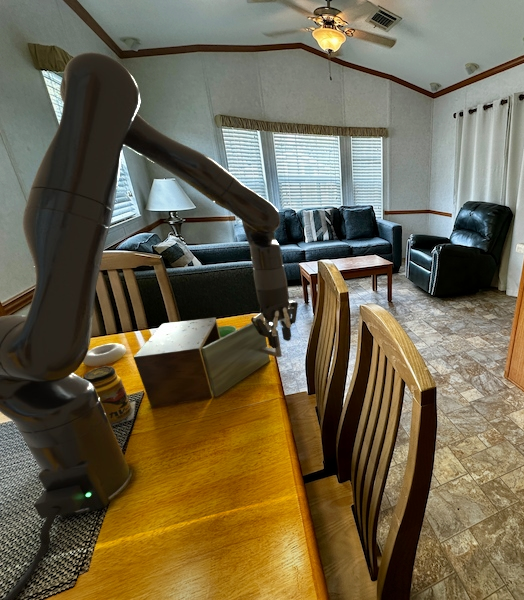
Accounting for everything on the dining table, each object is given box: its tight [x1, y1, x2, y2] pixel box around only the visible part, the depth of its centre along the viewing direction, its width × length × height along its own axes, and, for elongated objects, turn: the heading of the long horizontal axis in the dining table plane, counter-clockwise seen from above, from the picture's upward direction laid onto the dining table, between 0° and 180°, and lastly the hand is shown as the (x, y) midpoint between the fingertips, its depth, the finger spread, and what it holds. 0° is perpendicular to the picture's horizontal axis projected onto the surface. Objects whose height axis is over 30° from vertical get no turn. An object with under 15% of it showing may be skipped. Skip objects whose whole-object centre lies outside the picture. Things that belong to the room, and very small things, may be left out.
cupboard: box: [133, 317, 221, 409], centre depth 85 cm, size 13×18×14 cm
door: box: [201, 322, 283, 398], centre depth 85 cm, size 8×18×14 cm, turn 157°
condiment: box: [82, 365, 137, 427], centre depth 72 cm, size 7×8×12 cm
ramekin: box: [218, 325, 238, 338], centre depth 105 cm, size 9×9×4 cm
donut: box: [82, 342, 127, 367], centre depth 97 cm, size 10×4×10 cm
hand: (280, 343), depth 88 cm, fingers open, 4 cm apart
